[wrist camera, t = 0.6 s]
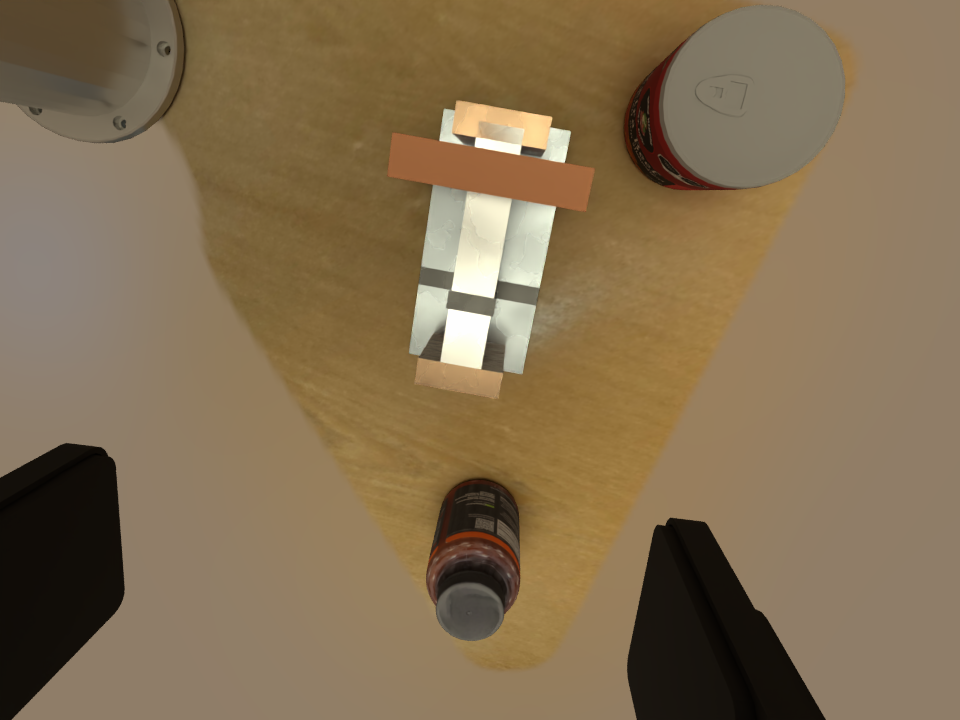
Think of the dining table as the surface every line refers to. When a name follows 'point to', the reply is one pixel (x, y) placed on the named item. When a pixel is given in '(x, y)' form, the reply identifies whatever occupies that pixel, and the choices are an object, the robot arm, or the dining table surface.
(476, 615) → the supplement bottle
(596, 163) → the dining table surface
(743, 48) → the canned food
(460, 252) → the stand
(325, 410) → the dining table surface
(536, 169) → the collar
